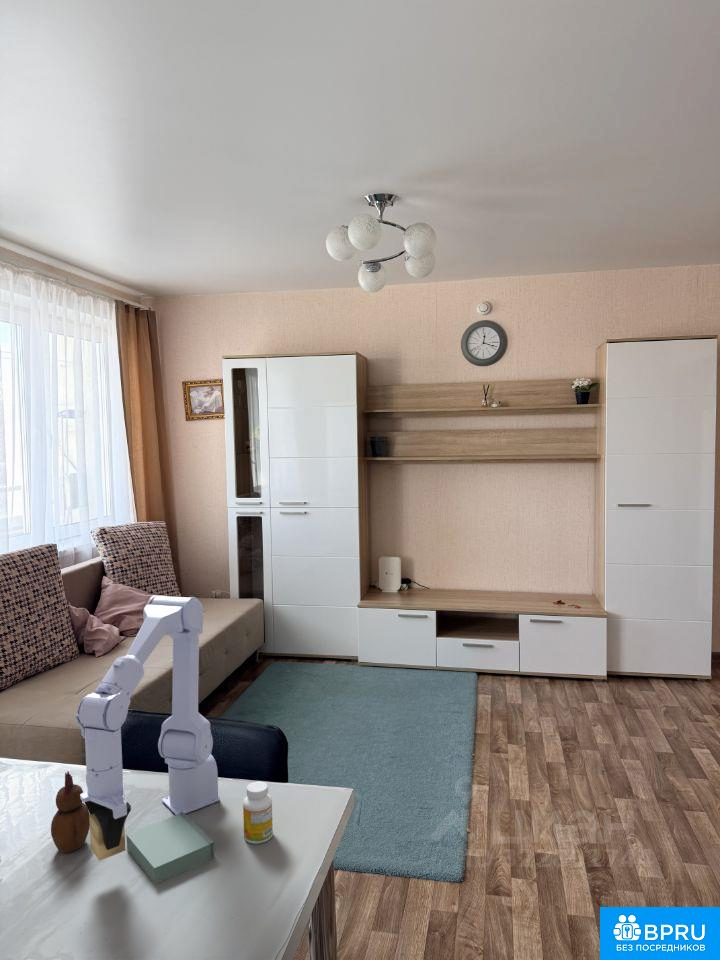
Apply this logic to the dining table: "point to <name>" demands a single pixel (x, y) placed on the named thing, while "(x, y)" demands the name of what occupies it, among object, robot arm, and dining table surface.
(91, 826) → the block
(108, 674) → the robot arm
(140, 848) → the green flat slab
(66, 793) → the wooden figurine
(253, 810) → the supplement bottle
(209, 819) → the dining table surface
